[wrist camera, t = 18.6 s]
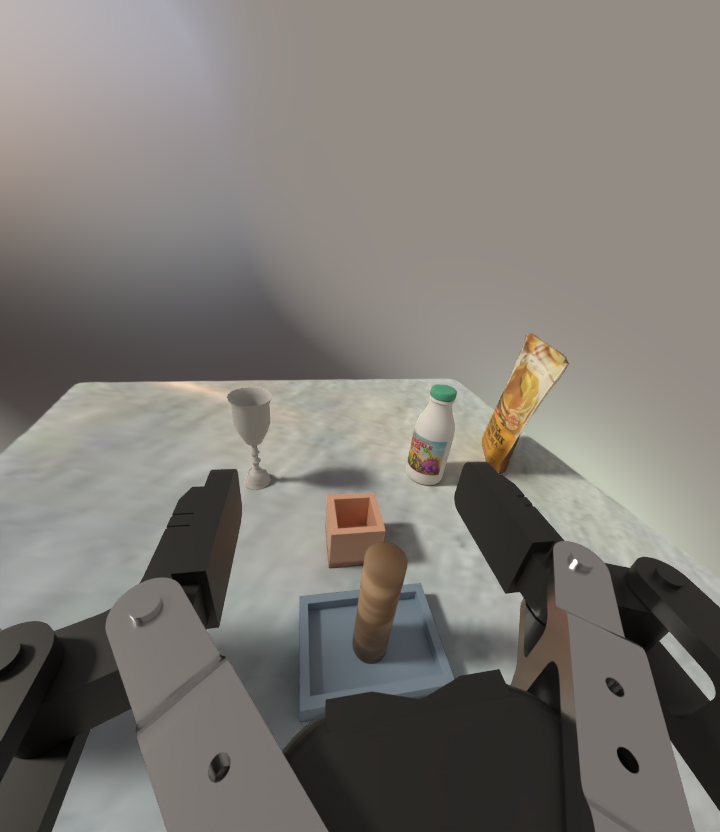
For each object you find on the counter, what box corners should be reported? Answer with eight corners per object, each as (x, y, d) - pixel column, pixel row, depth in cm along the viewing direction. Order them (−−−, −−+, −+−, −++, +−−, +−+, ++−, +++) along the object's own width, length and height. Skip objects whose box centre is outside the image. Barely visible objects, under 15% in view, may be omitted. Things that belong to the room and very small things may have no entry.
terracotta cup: (329, 568, 45) (331, 535, 42) (325, 526, 52) (327, 495, 48) (379, 563, 47) (385, 530, 43) (369, 523, 53) (374, 492, 50)
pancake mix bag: (503, 437, 83) (542, 333, 70) (519, 483, 67) (575, 357, 53) (477, 432, 84) (511, 328, 71) (487, 476, 68) (534, 351, 54)
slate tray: (299, 722, 30) (299, 711, 29) (299, 607, 40) (299, 596, 39) (450, 694, 33) (455, 683, 32) (417, 594, 43) (420, 583, 42)
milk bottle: (418, 458, 71) (437, 377, 61) (448, 475, 67) (473, 390, 57) (398, 472, 66) (415, 386, 56) (429, 492, 61) (453, 402, 52)
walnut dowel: (355, 666, 34) (369, 582, 27) (350, 627, 37) (361, 543, 30) (390, 661, 35) (413, 577, 28) (382, 623, 38) (400, 540, 31)
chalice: (283, 480, 60) (281, 397, 52) (255, 499, 55) (246, 410, 47) (259, 464, 64) (252, 384, 55) (230, 480, 59) (217, 395, 50)
